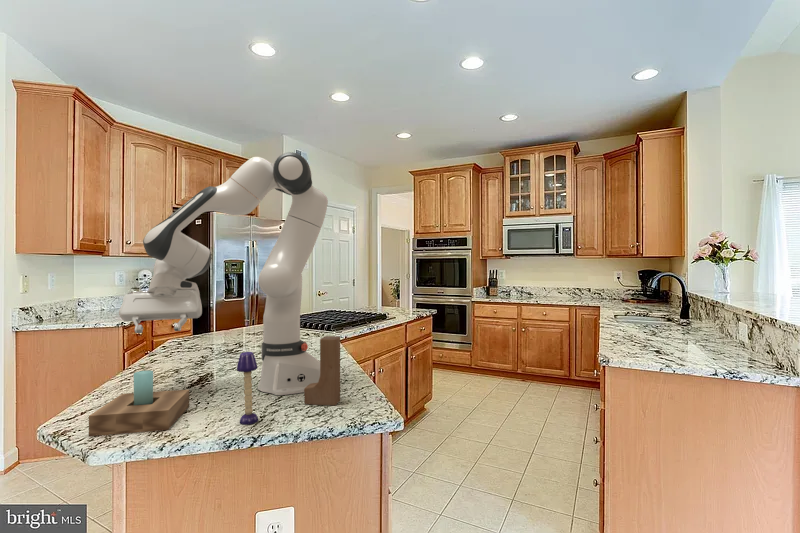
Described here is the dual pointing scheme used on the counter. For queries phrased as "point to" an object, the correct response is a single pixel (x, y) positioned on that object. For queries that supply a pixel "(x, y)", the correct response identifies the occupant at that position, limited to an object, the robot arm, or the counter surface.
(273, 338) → the robot arm
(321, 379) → the wooden block
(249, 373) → the toy lamp
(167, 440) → the counter surface
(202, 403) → the counter surface
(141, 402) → the pin
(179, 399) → the bore block
